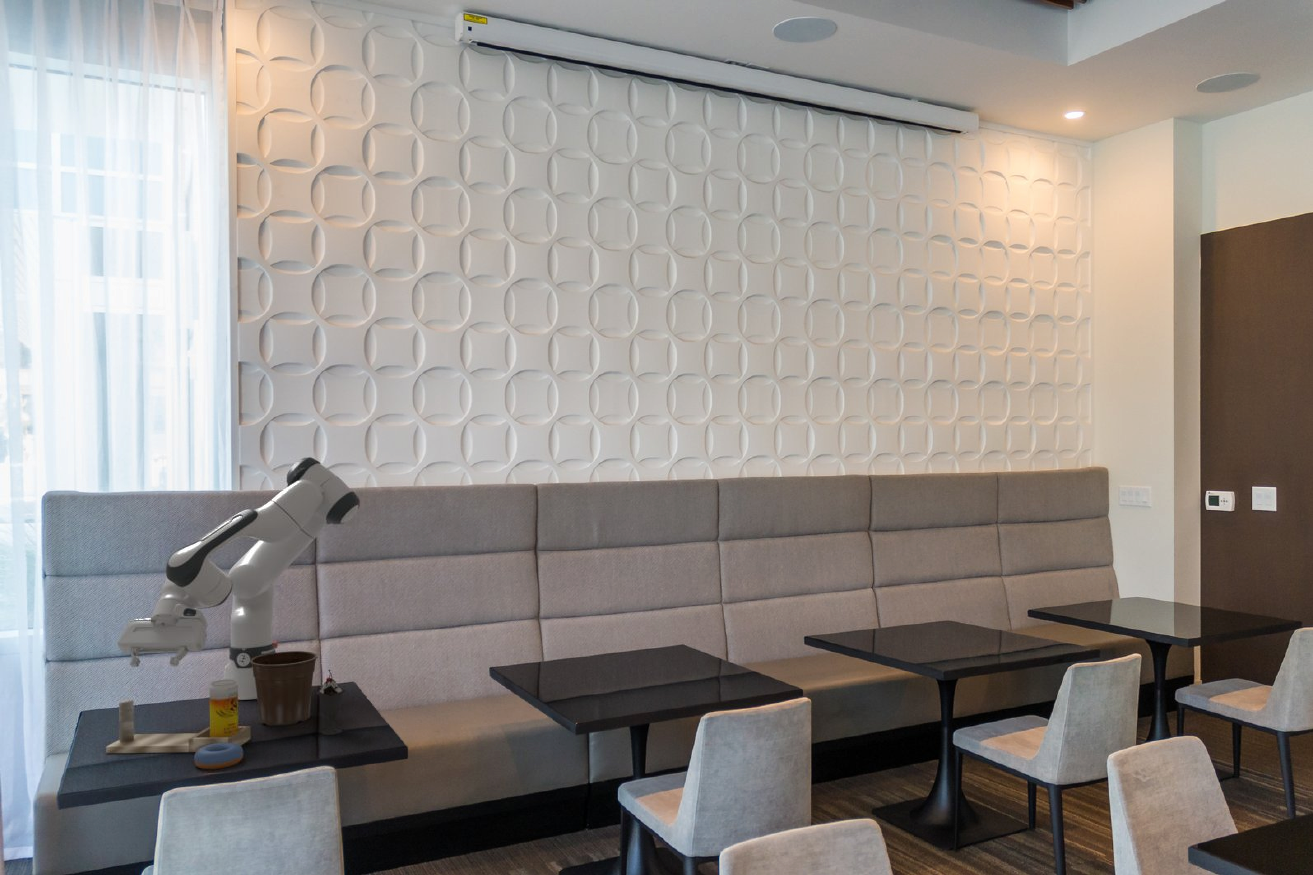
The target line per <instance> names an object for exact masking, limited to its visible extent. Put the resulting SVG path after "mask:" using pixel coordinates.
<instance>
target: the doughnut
mask: <svg viewBox="0 0 1313 875" xmlns="http://www.w3.org/2000/svg"><path fill="white" fill-rule="evenodd" d="M193 757H194V758H193V761H194V764H195V766H196V767H197V768H199V769H202V770H218V769H224V768H229V767H233V766H235V765H237V764H239V763H241V761H242V759H243V758H244V750H243V747H242V745H241V746H240V745H238V744H236V743H216V744H211V745H207V746H205V747H202V748H200V749H199V750H198V751H197V752H194V756H193Z"/></svg>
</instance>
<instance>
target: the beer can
mask: <svg viewBox="0 0 1313 875" xmlns="http://www.w3.org/2000/svg"><path fill="white" fill-rule="evenodd" d="M238 726H239V700H238V685H237V683H236V680H230V679H228V680H224V679H219V680H215V681H212V682H211V685H210V686H209V727H210V737H231V736H232V735H234V734H235V733H237V732H238Z"/></svg>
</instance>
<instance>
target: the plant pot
mask: <svg viewBox="0 0 1313 875" xmlns="http://www.w3.org/2000/svg"><path fill="white" fill-rule="evenodd" d="M317 659H318V654H317V653H315V652H310V651H302V650H301V651H300V650H298V651H297V650H296V651H295V650H294V651H293V650H292V651H279V652H276V653H270V654H264V655H260V656H257V657H254V658H252V659H251V660H250V663H251V664H252V667H253V676H254V677H255V683H256V692H257V699H256V701H257V708H258V710H257V711H258V721H259V723H260V724H261V725H266V726H267V725H268V726H269V727H278V726H279V727H280V726H281V725H282V726H288V725H289V726H291V725H296V724H297V723H299V722H305V721H307V720H308V719H310V717H311V702H312V701H311V700H312V688H313V678H314V673H315V671H316V661H317ZM290 724H291V725H290ZM268 726H267V727H268Z"/></svg>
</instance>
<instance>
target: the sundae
mask: <svg viewBox="0 0 1313 875" xmlns="http://www.w3.org/2000/svg"><path fill="white" fill-rule="evenodd" d="M328 672H329V674H330V675H329V676H328V677H326V681H325V682H323V685H322V688H321V689H319V690H318V691H317V692H316V695H318V696H319V699H320V702H321V705H320V706H321V711H322V715H323V716H324V717H326V718H327V719H328V727H327V729H326V730H322V731H321V732H320V734H322V735H325V736H333V735H337V734H340V733H342V732H343V730H342V729H338V728H337V727H336V726H335V719H336V718H337V716H338V715H339V714H340V712H341V709H342V708H341V707H342V699H343V695H344V694H345V693H346V689H345V688H343V687H339V685H338V683H337V682H336V680H335V679H334V678H333V676H332V675H333V674H332V673H331V669H328Z"/></svg>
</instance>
